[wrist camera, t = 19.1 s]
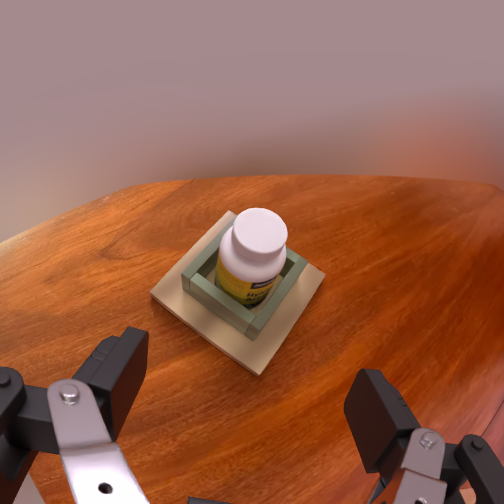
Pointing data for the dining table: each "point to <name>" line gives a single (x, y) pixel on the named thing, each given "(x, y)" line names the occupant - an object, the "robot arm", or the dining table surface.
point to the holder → (229, 310)
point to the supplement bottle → (251, 256)
